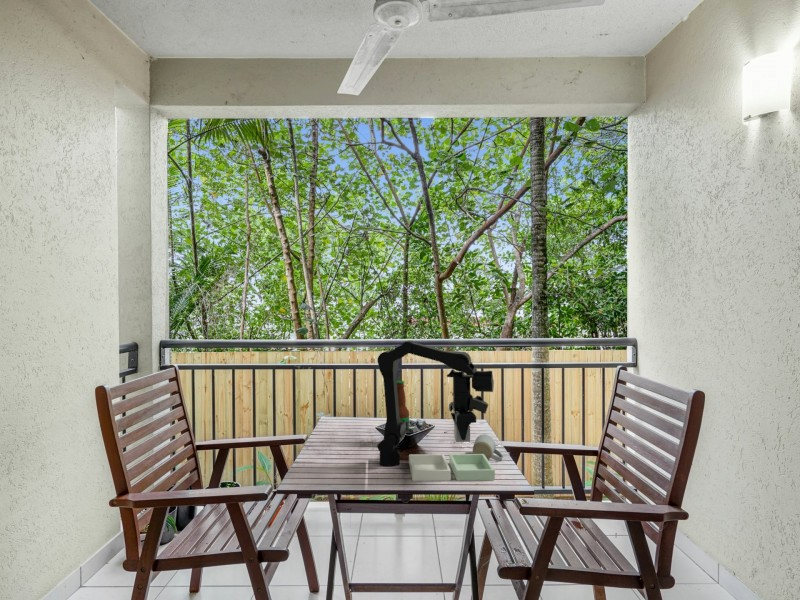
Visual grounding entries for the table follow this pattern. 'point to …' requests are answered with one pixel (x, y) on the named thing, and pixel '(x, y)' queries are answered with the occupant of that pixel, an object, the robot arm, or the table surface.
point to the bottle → (402, 404)
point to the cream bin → (429, 467)
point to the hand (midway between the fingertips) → (462, 437)
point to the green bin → (471, 467)
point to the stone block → (458, 437)
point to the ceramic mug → (486, 447)
